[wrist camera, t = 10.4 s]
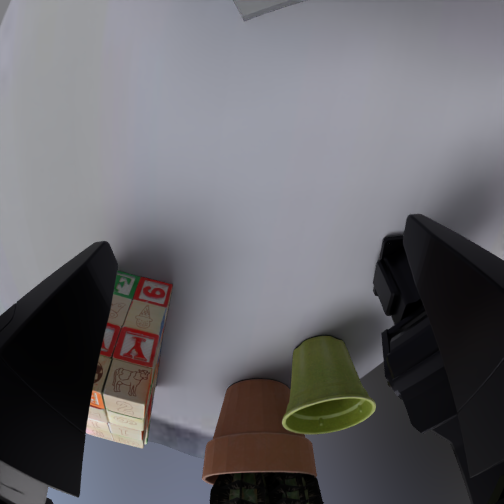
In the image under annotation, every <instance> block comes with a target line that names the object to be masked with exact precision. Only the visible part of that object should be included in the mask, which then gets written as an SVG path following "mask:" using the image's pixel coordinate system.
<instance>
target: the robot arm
mask: <svg viewBox="0 0 504 504" xmlns="http://www.w3.org/2000/svg"><path fill="white" fill-rule="evenodd" d="M389 242H390V244H388V243H389ZM387 244H388V245H387ZM117 271H118V264H117V261H116V258H115V256H114V254H113V251H112V249H111V247H110V244H109V243H108V242H107V241H101V242H95V243H93V244H92V245H91V246H89V247H88V248H86V249H85V250H84V251H82V252H81V253H79V254H78V255H77V256H75V257H74V258H73V259H71V260H70V261H69V262H67V263H66V264H64V265H63V266H62V267H60V268H59V269H58V270H57V271H55V272H54V273H53V274H51V275H50V276H49V277H47V278H46V279H45V280H44V281H42V282H41V283H40V284H38V285H37V286H36V287H35V288H33V289H32V290H31V291H30V292H28V293H27V294H26V295H25V296H23V297H22V298H21V299H20V300H19V301H17V304H16V303H15V304H14V305H13V306H11V307H10V308H9V309H8V310H7V311H5V312H4V313H3V314H2V315H1V316H0V504H53V502H52V500H51V499H49V498H46V496H47V491H48V487H51V488H53V489H56V490H59V491H62V492H64V493H67V494H70V495H73V496H76V497H79V495H80V484H81V471H82V461H83V452H84V443H85V434H86V428H87V421H88V414H89V408H90V402H91V396H92V391H93V385H94V380H95V375H96V370H97V365H98V361H99V356H100V352H101V347H102V343H103V339H104V335H105V330H106V326H107V322H108V319H109V314H110V310H111V305H112V299H113V293H114V287H115V281H116V276H117ZM373 284H374V289H373V292H374V294H375V296H378V297H379V299H380V302H381V304H382V307H383V310H384V312H385V314H386V315H387V316H392V319H393V322H394V324H395V325H394V326H393V327H391V328H390V329H386V330H385V331H384V332H382V333H381V334H382V346H383V357H384V367H385V368H384V369H385V377H386V379H387V380H388V385H389V387H391V388H392V389H393V390H394V392H395V393H396V395H397V396H398V397H400V399H402V400H403V401H404V404H405V407H406V409H407V412H408V415H409V418H410V421H411V424H412V425H413V426H414V427H415V428H416V429H417V430H418V431H420V432H421V433H423V434H424V433H426V432H428V431H431V432H433V433H435V434H436V435H438V436H440V437H441V438H443V439H445V440H446V441H448V442H449V443H450V444H451V446H452V449H453V451H454V454H455V457H456V459H457V462H458V465H459V468H460V470H461V474H462V477H463V479H464V483H465V486H466V488H467V492H468V495H469V498H470V501H471V504H504V261H503V260H502V259H500V258H499V257H497V256H495V255H494V254H492V253H490V252H489V251H487V250H485V249H484V248H482V247H480V246H479V245H477V244H475V243H473V242H472V241H470V240H468V239H466V238H465V237H463V236H461V235H459V234H458V233H456V232H454V231H452V230H450V229H448V228H447V227H445V226H443V225H441V224H439V223H437V222H435V221H433V220H431V219H430V218H428V217H426V216H424V215H422V214H411V215H409V216H408V217H407V220H406V225H405V231H404V236H397V237H387V238H385V239H384V240H383V242H382V248H381V254H380V259H379V260H378V262H377V265H376V270H375V275H374V280H373Z"/></svg>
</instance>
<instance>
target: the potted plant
mask: <svg viewBox="0 0 504 504" xmlns="http://www.w3.org/2000/svg"><path fill="white" fill-rule="evenodd" d="M289 400H290V389H289V388H288V386H286V385H284V384H283V383H281V382H278V381H274V380H269V379H250V380H245V381H240V382H238V383H235V384H233V385H232V386H230V387H229V388H228V389H227V391H226V394H225V398H224V401H223V405H222V408H221V412H220V416H219V419H218V423H217V426H216V430H215V433H214V437H213V440H211V441H209V442H208V443H207V445H206V451H205V459H204V467H203V475H202V479H203V480H204V481H205V482H206V483H209V484H212V485H213V487H212V489H211V493H210V504H323V503H324V502H323V501H322V497H321V493H320V489H319V485H318V480H317V478H316V476H317V474H316V467H315V460H314V454H313V447H312V443H311V442H310V441H309V440H308V439H307V438H305V435H304V434H300V433H295V432H291V431H289V430H287V429H285V428H284V427H283V425H282V419H283V416H284V415H285V414H286V410H287V405H288V404H289Z"/></svg>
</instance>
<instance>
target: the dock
mask: <svg viewBox="0 0 504 504" xmlns="http://www.w3.org/2000/svg"><path fill="white" fill-rule="evenodd" d="M233 1H234V3H235V5H236V6H237V8H238V10H239V12H240V14H241V16H242V18H243V20H244V21H246V20H249V19H251V18H254V17H257V16H260V15H262V14H265V13H268V12H271V11H274V10H277V9H280V8H283V7H286V6H289V5H292V4H296V3H299V2H303V1H306V0H233Z"/></svg>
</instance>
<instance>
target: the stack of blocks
mask: <svg viewBox="0 0 504 504" xmlns="http://www.w3.org/2000/svg"><path fill="white" fill-rule="evenodd" d="M172 288H173V285H172V284H169V283H165V282H161V281H157V280H153V279H149V278H145V277H139V276H135V275H132V274H128V273H124V272H121V271H117V276H116V281H115V287H114V293H113V299H112V305H111V310H110V314H109V319H108V322H107V326H106V330H105V335H104V339H103V343H102V347H101V352H100V356H99V361H98V365H97V370H96V375H95V380H94V385H93V391H92V396H91V402H90V408H89V414H88V421H87V428H86V433H87V434H90V435H94V436H97V437H100V438H104V439H108V440H111V441H115V442H119V443H123V444H127V445H130V446H134V447H139V448H144V444H147V441H148V434H149V428H150V417H151V411H152V405H153V398H154V392H155V387H156V381H157V374H158V367H159V361H160V350H161V344H162V337H163V332H164V327H165V322H166V317H167V312H168V308H169V303H170V298H171V293H172Z"/></svg>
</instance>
